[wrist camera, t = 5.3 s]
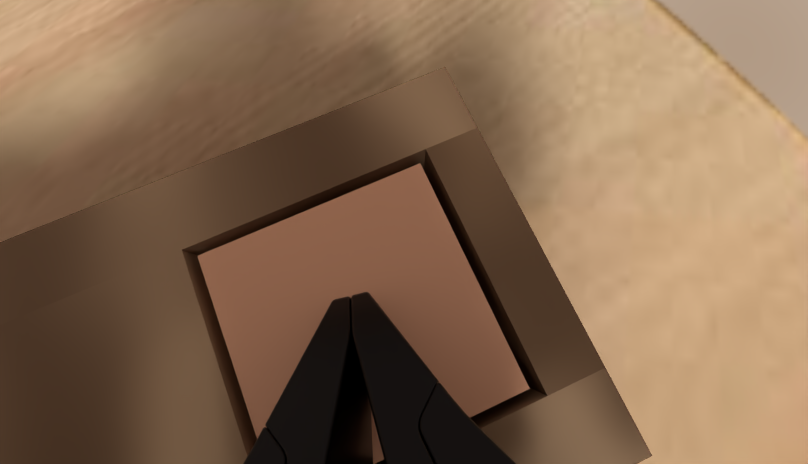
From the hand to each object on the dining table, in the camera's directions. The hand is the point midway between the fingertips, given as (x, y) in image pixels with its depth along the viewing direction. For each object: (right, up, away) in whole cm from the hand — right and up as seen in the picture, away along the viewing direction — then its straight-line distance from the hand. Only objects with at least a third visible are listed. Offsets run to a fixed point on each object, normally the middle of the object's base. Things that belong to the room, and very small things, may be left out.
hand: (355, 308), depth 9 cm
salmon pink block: (0, -2, +7) cm, 7 cm away
